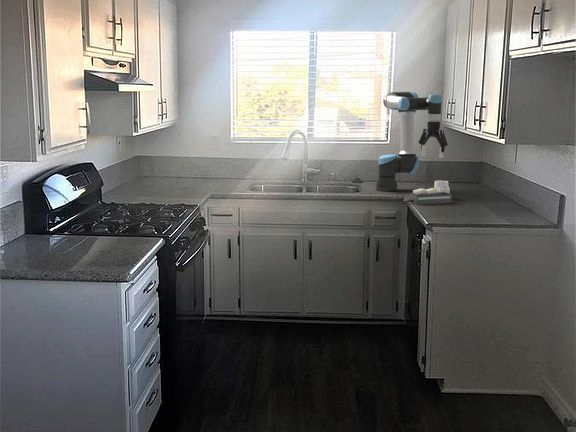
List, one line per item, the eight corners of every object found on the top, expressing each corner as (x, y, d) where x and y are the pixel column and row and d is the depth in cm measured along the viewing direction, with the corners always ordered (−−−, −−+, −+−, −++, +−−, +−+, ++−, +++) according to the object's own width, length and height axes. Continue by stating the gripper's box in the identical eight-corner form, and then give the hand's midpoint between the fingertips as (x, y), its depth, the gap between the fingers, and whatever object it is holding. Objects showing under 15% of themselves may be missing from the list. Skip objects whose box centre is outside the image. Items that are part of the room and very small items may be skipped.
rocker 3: (435, 190, 387) (436, 187, 387) (444, 191, 389) (444, 188, 389) (439, 191, 382) (440, 188, 382) (448, 192, 384) (449, 190, 384)
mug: (454, 199, 397) (455, 182, 395) (443, 200, 393) (444, 183, 391) (441, 196, 407) (442, 180, 405) (431, 197, 404) (431, 180, 402)
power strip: (400, 202, 384) (400, 193, 383) (443, 200, 392) (444, 191, 391) (407, 205, 376) (407, 196, 375) (451, 202, 384) (452, 193, 383)
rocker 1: (413, 193, 383) (412, 190, 383) (422, 190, 385) (421, 187, 384) (416, 194, 379) (416, 191, 378) (426, 191, 380) (425, 189, 379)
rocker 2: (424, 192, 385) (423, 189, 385) (433, 190, 387) (432, 187, 386) (428, 193, 381) (428, 190, 380) (437, 191, 382) (437, 188, 382)
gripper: (413, 120, 391) (412, 155, 395) (446, 122, 371) (444, 159, 376) (422, 119, 395) (420, 154, 400) (455, 121, 376) (452, 158, 380)
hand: (432, 156), depth 388 cm, fingers open, 13 cm apart
